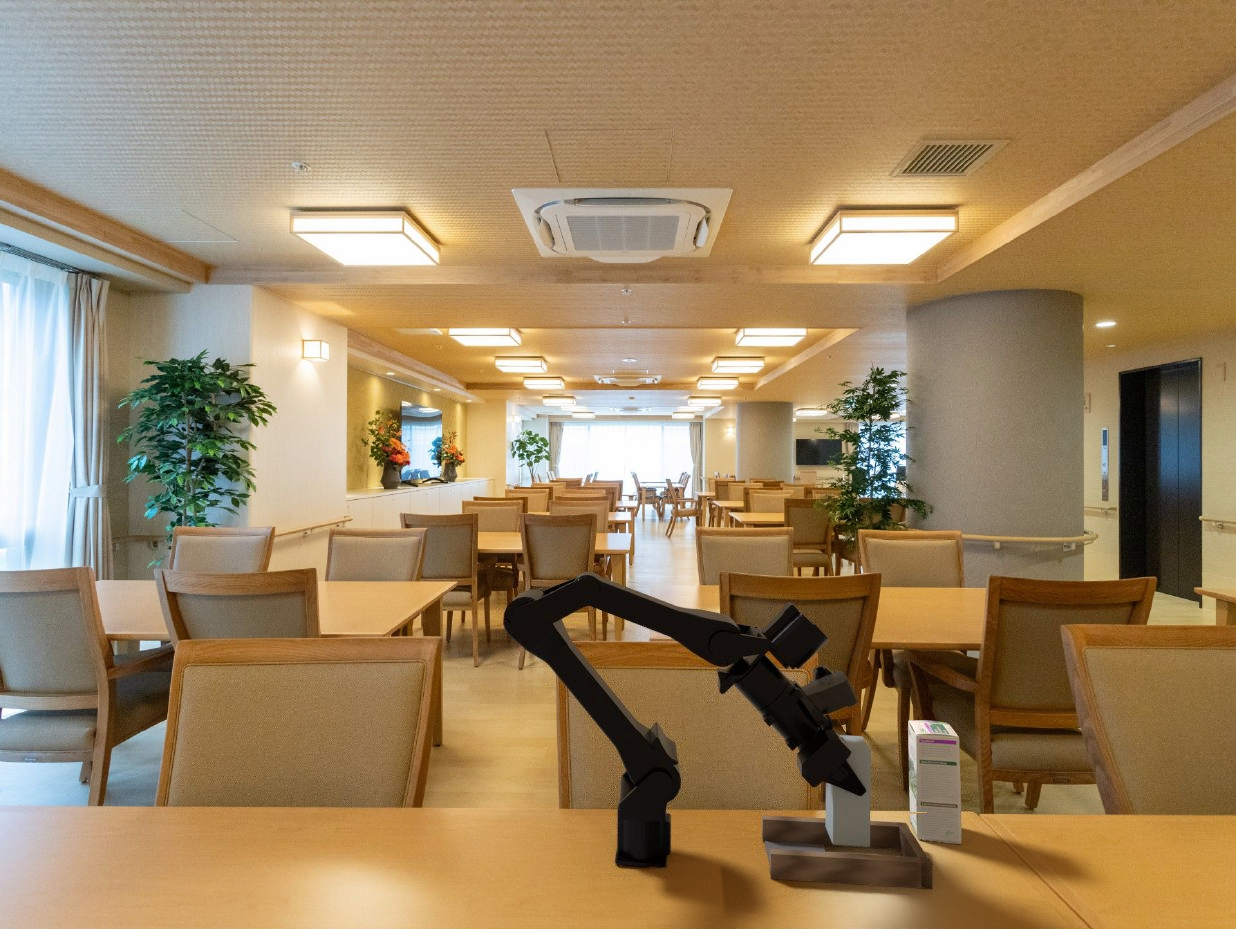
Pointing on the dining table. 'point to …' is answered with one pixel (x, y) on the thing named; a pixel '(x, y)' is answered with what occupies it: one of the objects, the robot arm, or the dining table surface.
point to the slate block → (851, 800)
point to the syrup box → (934, 781)
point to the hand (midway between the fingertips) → (858, 784)
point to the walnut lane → (844, 854)
